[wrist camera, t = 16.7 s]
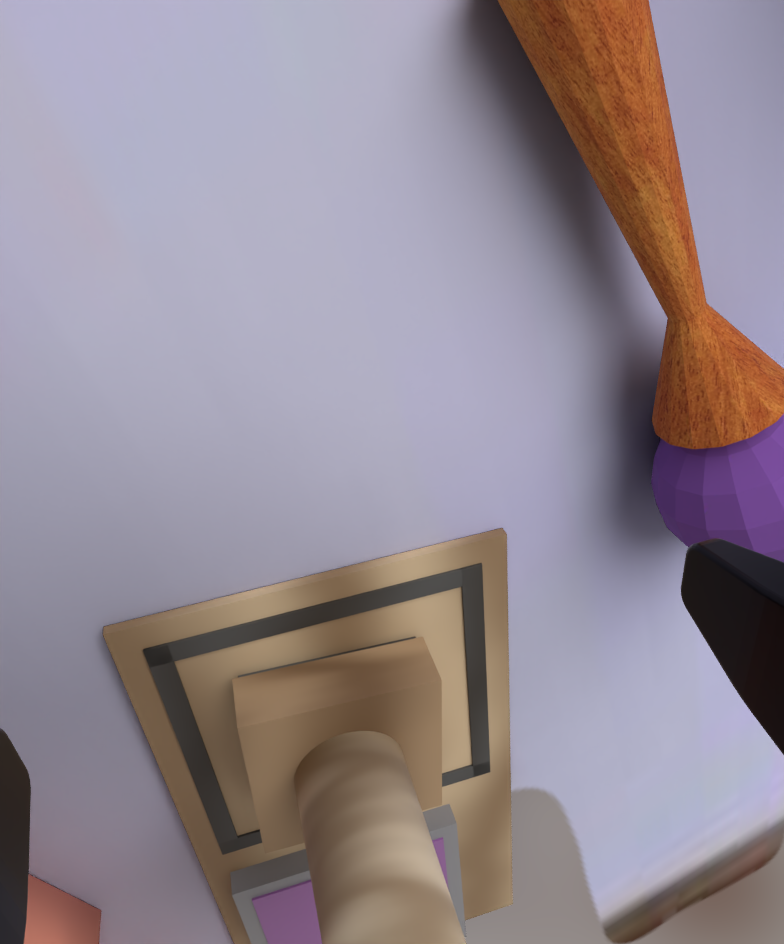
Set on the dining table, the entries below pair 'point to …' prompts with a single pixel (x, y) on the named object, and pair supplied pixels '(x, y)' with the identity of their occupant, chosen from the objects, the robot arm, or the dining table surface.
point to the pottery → (59, 917)
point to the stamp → (354, 786)
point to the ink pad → (291, 894)
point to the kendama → (666, 273)
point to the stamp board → (317, 635)
